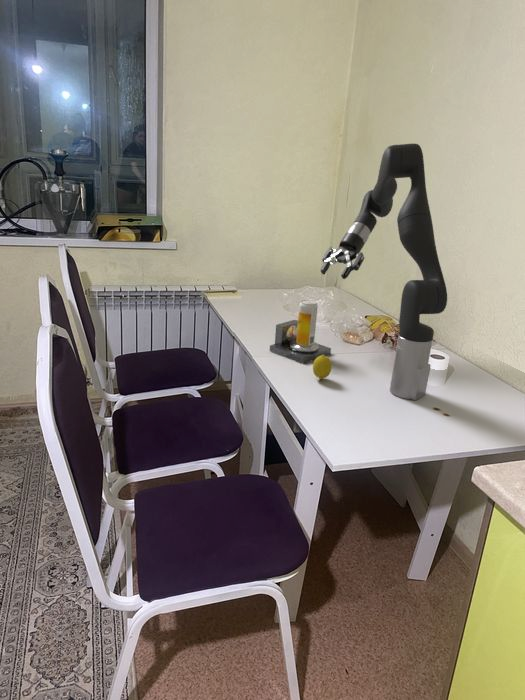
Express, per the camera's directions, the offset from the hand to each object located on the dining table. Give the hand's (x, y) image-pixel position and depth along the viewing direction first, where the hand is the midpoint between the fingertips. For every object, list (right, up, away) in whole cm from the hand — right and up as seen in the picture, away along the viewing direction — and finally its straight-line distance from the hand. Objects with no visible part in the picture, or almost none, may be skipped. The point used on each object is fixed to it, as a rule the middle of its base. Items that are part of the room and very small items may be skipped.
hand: (332, 275), depth 167 cm
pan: (-10, -24, +2) cm, 26 cm away
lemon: (-6, -34, -17) cm, 39 cm away
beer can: (-9, -24, +1) cm, 25 cm away
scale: (-11, -26, +3) cm, 28 cm away
